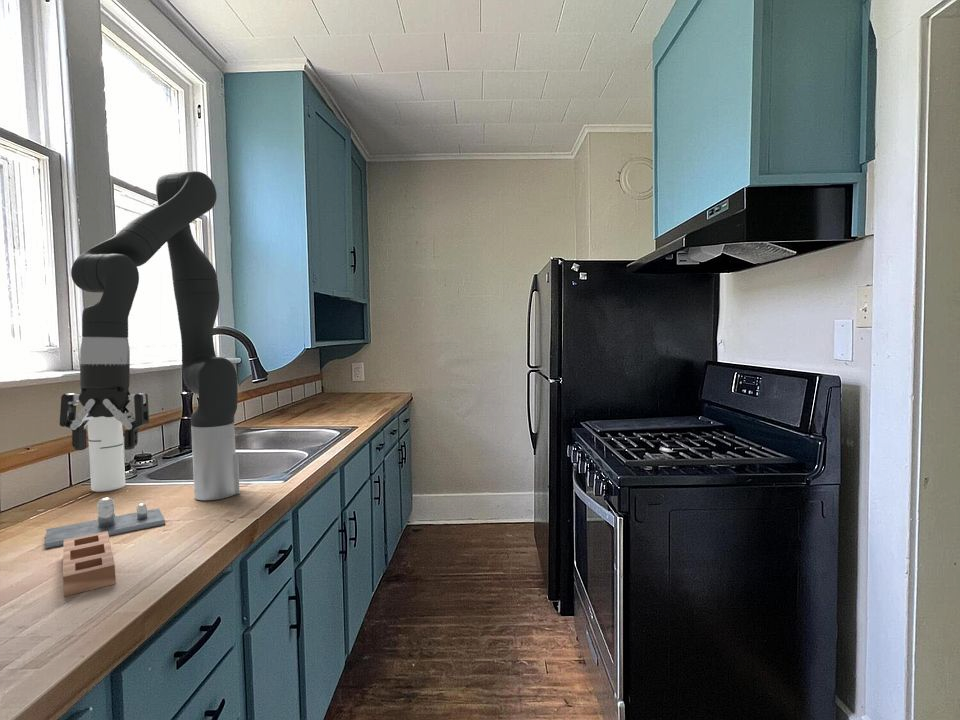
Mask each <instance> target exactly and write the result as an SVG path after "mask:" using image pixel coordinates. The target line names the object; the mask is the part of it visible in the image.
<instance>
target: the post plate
mask: <svg viewBox="0 0 960 720" xmlns="http://www.w3.org/2000/svg"><path fill="white" fill-rule="evenodd" d="M96 509H97V519H94V520H90V521H89V520H88V521H83V522H77V523H74V524H73V523H72V524H68V525H67V524H66V525H63V526H57V527H51V528H47V529H46V531H45V533H46V534H45V543H44V548H45V549H52V548H57V547H62V546H63V545H64V540H66V539H71V538H76V537H81V536H86V535H91V534H96V533H101V532H106V531H108V534H109V537H111V536H115V535H121V534H125V533H130V532H136V531H140V530H144V529H149V528H154V527H159V526H164V525H166V519H165V517H164V515H163V514H162V512H161V510H160V508H153V509H148V507H147V504H145V503H139V504H138V505H137V506H136V511H135V512H131V513H126V514H121V515H116V511H115V500H113V499H112V498H111V497H102V498H101V499H99V501H98V502H97V504H96Z"/></svg>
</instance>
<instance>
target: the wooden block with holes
mask: <svg viewBox="0 0 960 720" xmlns="http://www.w3.org/2000/svg"><path fill="white" fill-rule="evenodd" d="M62 546H63V547H62V548H63V551H62V553H63V554H62V557H63V558H62V561H63V562H62V583H63V585H62V587H63V597H67V596H71V595H72V596H73V595H75V594H79V593H80V594H81V593H83V592H89V591H91V590H95V589H100V588H103V587H107V586H111V585H115V584H117V583H116V582H117V581H116V579H117V578H116V564H115V560H114V555H113V551H112V545H111V541H110V536H109V534H108V531H106V532H101V533H96V534H91V535H86V536H81V537H76V538H71V539H66V540H64V545H62Z"/></svg>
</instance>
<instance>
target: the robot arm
mask: <svg viewBox="0 0 960 720" xmlns="http://www.w3.org/2000/svg"><path fill="white" fill-rule="evenodd" d="M155 194H156V195H155V196H156V201H157V205H158V206H156V207H154V208H151V209H150V210H147V211H146V212H143V213H142V214H139V215H138V216H136V217H135V218H132V219H131V220H129V222H128V223H127V224H125V225H124V226H123V227H122V228H121V229H120V230H118V231H117V232H116V233H115V235H113V237H111V238H108V239H106V240H104V241H101V242H100V243H98V244H96V245H95V246H93V247H91V248H89V249H87V250H85V251H84V252H82V253H81V254H80V255H79V256H78V257H77V258H76V259H75V260H74V261H73V264H72V266H71V270H70V277H71V278H72V279H71V280H72V282H73V283H74V285H75V286H76V287H77V288H78V289H80V290H82V291H85V292H88V293H102V296H101V298H100V301H98V302H97V303H95V304H91V305H88V306H85V308H83V310H82V313H81V343H80V348H79V351H80V352H79V386H80V389H81V392H80V393H79V394H77V393H75V392H71V393H64V394H62V395H61V396H60V397H61V398H60V412H59V426H60V427H63V428H64V427H65V428H67V429H68V428H69V429H70V430H71V441H72V442H71V446H72V448H74V450H75V451H83V450H86V448H87V428H86V426H88V422H89V421H90V420H91V419H93V418H94V417H102V416H104V417H115V418H116V419H117V420H118V421H120V422H121V423H122V426H123V427H124V428H125V430H124V432H123V433H124V434H123V448H124V451H130V450H133V449H135V447H137V445H138V442H139V440H138V438H139V437H138V435H139V434H138V431H139V428H141V427H143V426H147V425H148V424H149V423H150V416H149V415H150V414H149V413H150V412H149V411H150V410H149V396H148V395H149V394H147V393H146V392H143V393H135V394H131V393H130V390H129V389H130V381H131V379H130V377H131V376H130V374H131V373H130V371H131V370H130V365H131V364H130V362H131V361H130V360H131V359H130V357H131V356H130V355H131V353H130V344H129V316H130V312H131V310H132V307H133V303H134V299H135V297H136V293H137V291H138V286H139V283H140V273H139V269H138V267H141V266H143V265H144V264H145V265H146V263H147V262H148V261H149V260H151V258H153V257H154V255H155V254H156V253H157V252H158V251H159V250H160V249H161V248H162V246H164V245H165V244H166V243H167V250H168V255H169V260H170V262H169V263H170V268H171V278H172V285H173V293H174V299H175V304H176V305H175V306H176V312H177V317H178V318H177V319H178V325H179V331H180V340H181V367H182V371H181V373H182V380H183V382H184V384H185V385H184V386H186V388H187V389H188V390H189V391H190V392H192V393H194V394H197V395H198V406H197V408H196V410H195V411H193V412H192V413H191V415H190V425H191V427H190V428H191V429H190V432H191V433H190V434H191V449H192V450H191V451H192V452H191V453H192V469H193V470H192V471H193V474H192V475H193V491H194V494H193V496H194V499H195V500H198V501H216V500H222V499H226V498H229V497H232V496H235V495H239V494H240V492H241V491H240V474H239V473H240V470H239V455H238V454H237V453H236V451H237V450H236V435H235V434H236V431H235V428H236V427H235V416H236V412H237V410H238V394H239V393H238V390H239V389H238V382H239V381H238V374H237V369H236V367H235V365H234V364H233V363H232V361H230V360H229V359H227V358H225V357H220V356H217V355H216V350H215V344H214V327H215V323H216V319H217V316H218V311H219V307H220V290H219V282H218V277H217V276H218V275H217V272H216V270H215V268H214V265H213V264H212V263H211V261H210V259H209V258H208V257H207V255H206V254H205V253H204V252H203V250H202V249H201V248H200V246H199V245H198V243H197V242H196V240H195V238H194V236H193V233H192V230H191V226H190V223H192V222H194V221H195V220H196V219H198V218H200V217H201V216H203V215H204V214H206V213H208V212H209V211H211V210H212V209H213V208H214V206H215V205H216V202H217V198H218V197H217V190H216V186H215V184H214V182H213V181H212V179H211V177H209V175H207V174H206V173H204V172H201V171H199V170H198V171H195V170H187V171H178V172H170V173H165V174H162V175H160V176H159V177H158V178H157V180H156V184H155ZM79 402H80V404H81V405H82V409H81V410H80V411H79V412H78V414H77V405H79ZM130 402H131V405H133V406H134V413H133V412H132V411H131V410H130V408H129V407H128V405H129V403H130Z"/></svg>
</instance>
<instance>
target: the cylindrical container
mask: <svg viewBox="0 0 960 720" xmlns="http://www.w3.org/2000/svg"><path fill="white" fill-rule="evenodd" d="M123 433H124V432H123V424H122V423H121V422H120V421H118V420H117V419H116V418H115V417H104V416H102V417H94V418H93V419H91V420H90V421H89V422H88V424H87V436H88V437H87V439H88V441H87V442H88V455H89V468H90V469H89V471H90V487H91V488H90V491H92V492H109V491H114V490H118V489H121V488H124V487H126V471H125V469H126V468H125V448H124V434H123Z"/></svg>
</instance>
